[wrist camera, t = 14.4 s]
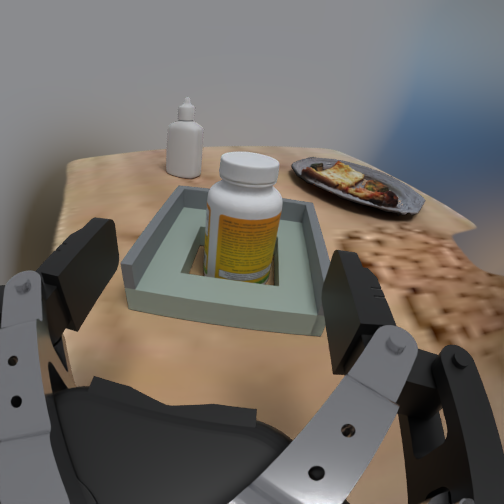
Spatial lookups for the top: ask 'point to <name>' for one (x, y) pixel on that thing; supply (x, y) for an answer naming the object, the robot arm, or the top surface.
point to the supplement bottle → (242, 218)
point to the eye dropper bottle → (184, 144)
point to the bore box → (222, 290)
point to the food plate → (359, 184)
